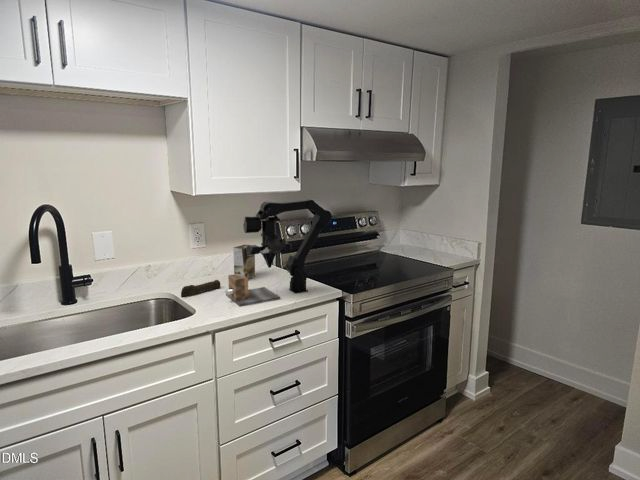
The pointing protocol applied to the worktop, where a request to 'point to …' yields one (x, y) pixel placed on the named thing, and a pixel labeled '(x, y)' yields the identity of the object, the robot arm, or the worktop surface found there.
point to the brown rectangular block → (245, 288)
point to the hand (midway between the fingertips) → (269, 267)
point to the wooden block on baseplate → (253, 294)
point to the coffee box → (244, 262)
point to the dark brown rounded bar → (199, 288)
